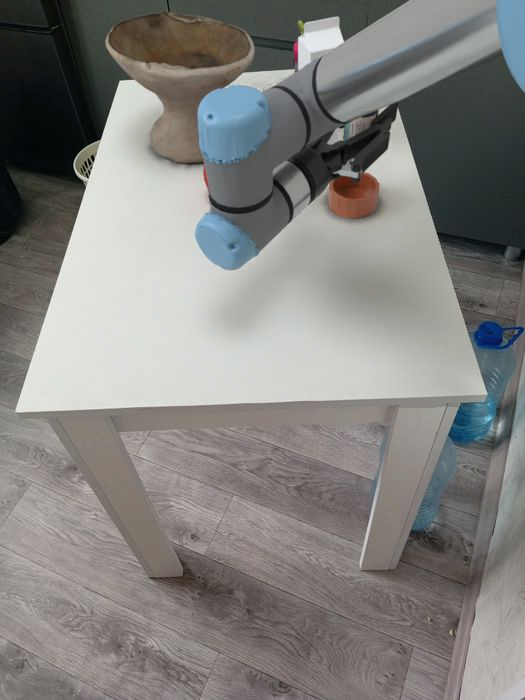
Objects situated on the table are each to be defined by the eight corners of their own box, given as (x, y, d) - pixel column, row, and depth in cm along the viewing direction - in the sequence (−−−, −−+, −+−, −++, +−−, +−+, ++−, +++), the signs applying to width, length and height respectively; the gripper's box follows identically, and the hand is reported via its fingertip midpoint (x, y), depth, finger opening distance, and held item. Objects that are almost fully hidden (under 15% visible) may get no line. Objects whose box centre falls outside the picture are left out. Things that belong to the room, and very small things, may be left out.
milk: (297, 142, 99) (296, 15, 82) (327, 135, 100) (332, 8, 83) (308, 159, 96) (309, 30, 78) (338, 152, 97) (346, 23, 79)
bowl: (258, 174, 94) (249, 61, 78) (124, 179, 95) (88, 69, 79) (261, 102, 109) (255, -6, 93) (145, 107, 110) (119, 2, 94)
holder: (383, 213, 86) (386, 195, 83) (336, 222, 85) (337, 204, 82) (367, 184, 90) (369, 166, 87) (322, 193, 90) (323, 175, 87)
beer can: (377, 164, 81) (388, 89, 71) (355, 176, 80) (363, 101, 70) (356, 151, 83) (364, 76, 74) (334, 163, 82) (340, 88, 72)
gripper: (240, 185, 74) (328, 112, 85) (345, 230, 67) (427, 145, 78) (235, 137, 68) (331, 65, 79) (349, 182, 61) (438, 96, 71)
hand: (378, 105), depth 78 cm, fingers closed on beer can, 5 cm apart
